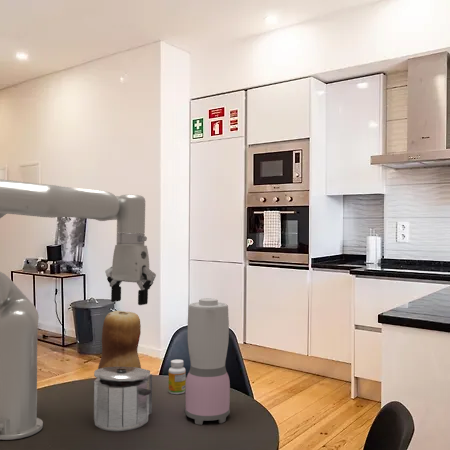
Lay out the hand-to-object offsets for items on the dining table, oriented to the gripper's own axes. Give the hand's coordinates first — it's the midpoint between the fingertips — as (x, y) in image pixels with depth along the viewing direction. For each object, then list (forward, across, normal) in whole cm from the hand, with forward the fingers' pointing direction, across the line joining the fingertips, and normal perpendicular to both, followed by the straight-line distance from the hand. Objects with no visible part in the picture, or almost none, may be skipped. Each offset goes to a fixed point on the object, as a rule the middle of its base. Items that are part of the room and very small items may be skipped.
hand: (129, 302), depth 136 cm
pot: (+31, 0, +2) cm, 31 cm away
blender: (+31, -17, -14) cm, 38 cm away
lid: (+19, 0, +2) cm, 20 cm away
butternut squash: (+31, +18, -16) cm, 39 cm away
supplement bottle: (+31, +2, -25) cm, 40 cm away
